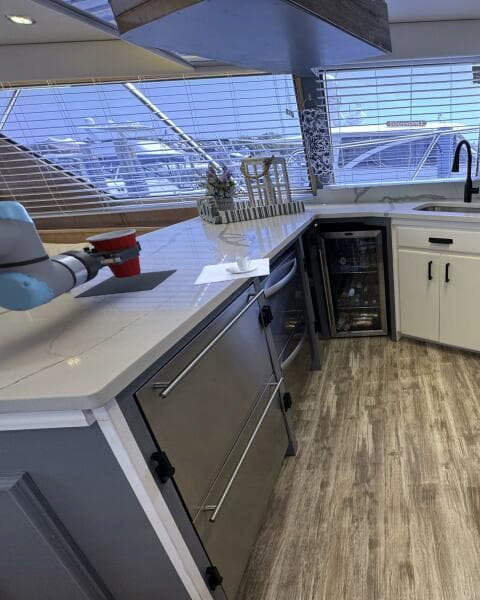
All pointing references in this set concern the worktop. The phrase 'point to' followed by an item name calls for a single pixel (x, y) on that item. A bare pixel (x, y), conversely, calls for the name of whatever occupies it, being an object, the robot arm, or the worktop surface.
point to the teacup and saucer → (234, 270)
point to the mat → (128, 283)
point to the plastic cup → (115, 242)
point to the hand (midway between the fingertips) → (123, 247)
